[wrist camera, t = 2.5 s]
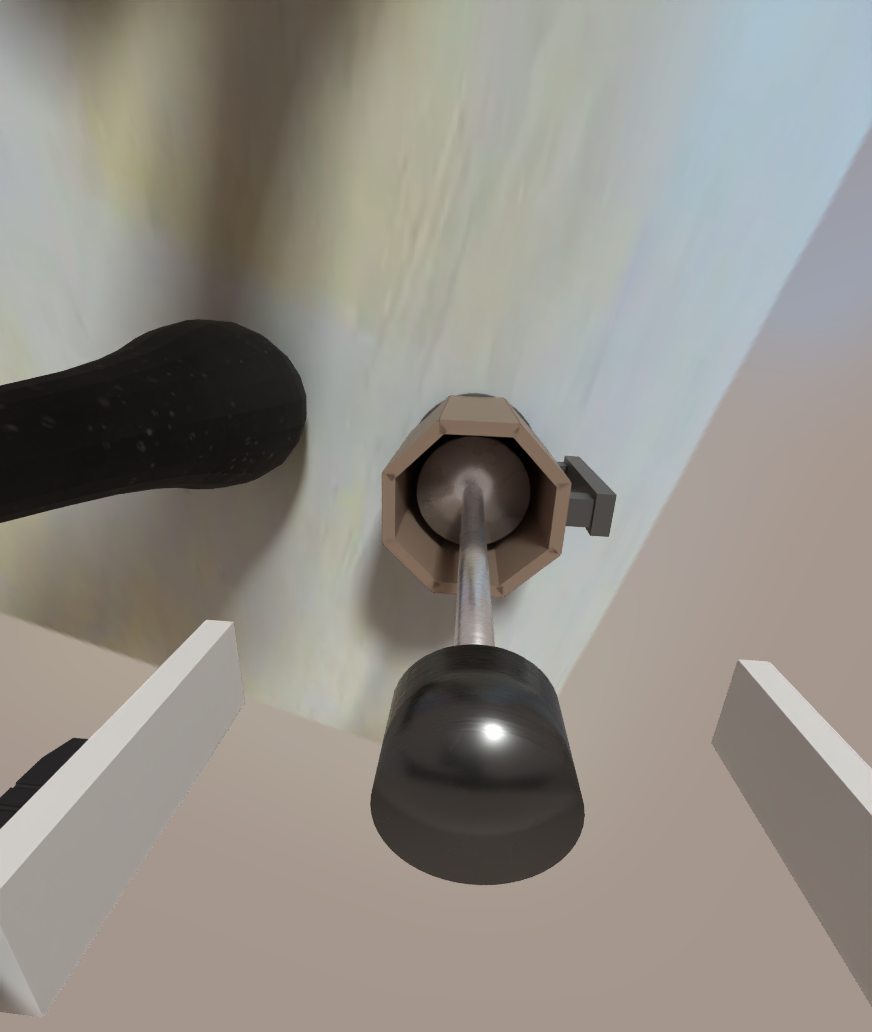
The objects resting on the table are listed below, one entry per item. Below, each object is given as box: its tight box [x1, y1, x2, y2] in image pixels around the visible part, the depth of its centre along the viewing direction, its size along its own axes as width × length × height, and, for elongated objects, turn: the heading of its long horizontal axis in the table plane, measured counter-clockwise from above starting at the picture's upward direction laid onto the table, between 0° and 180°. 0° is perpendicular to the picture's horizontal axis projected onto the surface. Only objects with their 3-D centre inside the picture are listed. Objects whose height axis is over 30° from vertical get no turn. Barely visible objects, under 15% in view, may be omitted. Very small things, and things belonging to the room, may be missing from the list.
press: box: [382, 393, 616, 597], centre depth 30 cm, size 10×12×13 cm
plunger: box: [370, 435, 585, 885], centre depth 18 cm, size 7×7×21 cm
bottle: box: [0, 319, 306, 523], centre depth 22 cm, size 11×11×30 cm
